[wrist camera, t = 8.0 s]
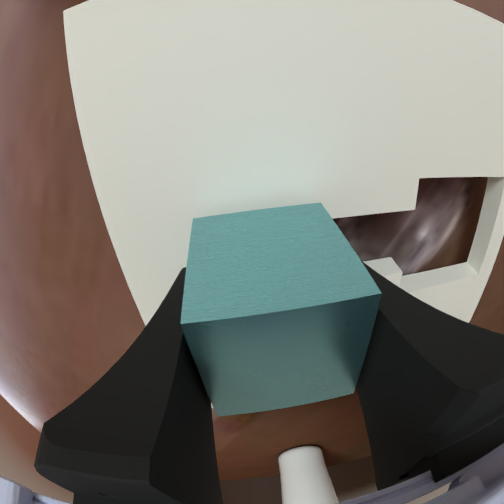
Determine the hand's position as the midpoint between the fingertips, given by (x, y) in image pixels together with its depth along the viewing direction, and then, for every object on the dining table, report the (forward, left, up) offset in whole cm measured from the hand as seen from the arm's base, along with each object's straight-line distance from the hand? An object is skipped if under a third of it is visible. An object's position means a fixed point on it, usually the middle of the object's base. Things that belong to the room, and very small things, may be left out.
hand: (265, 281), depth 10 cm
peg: (0, 0, -4) cm, 4 cm away
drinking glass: (-3, +31, -4) cm, 31 cm away
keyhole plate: (-4, 0, -4) cm, 6 cm away
